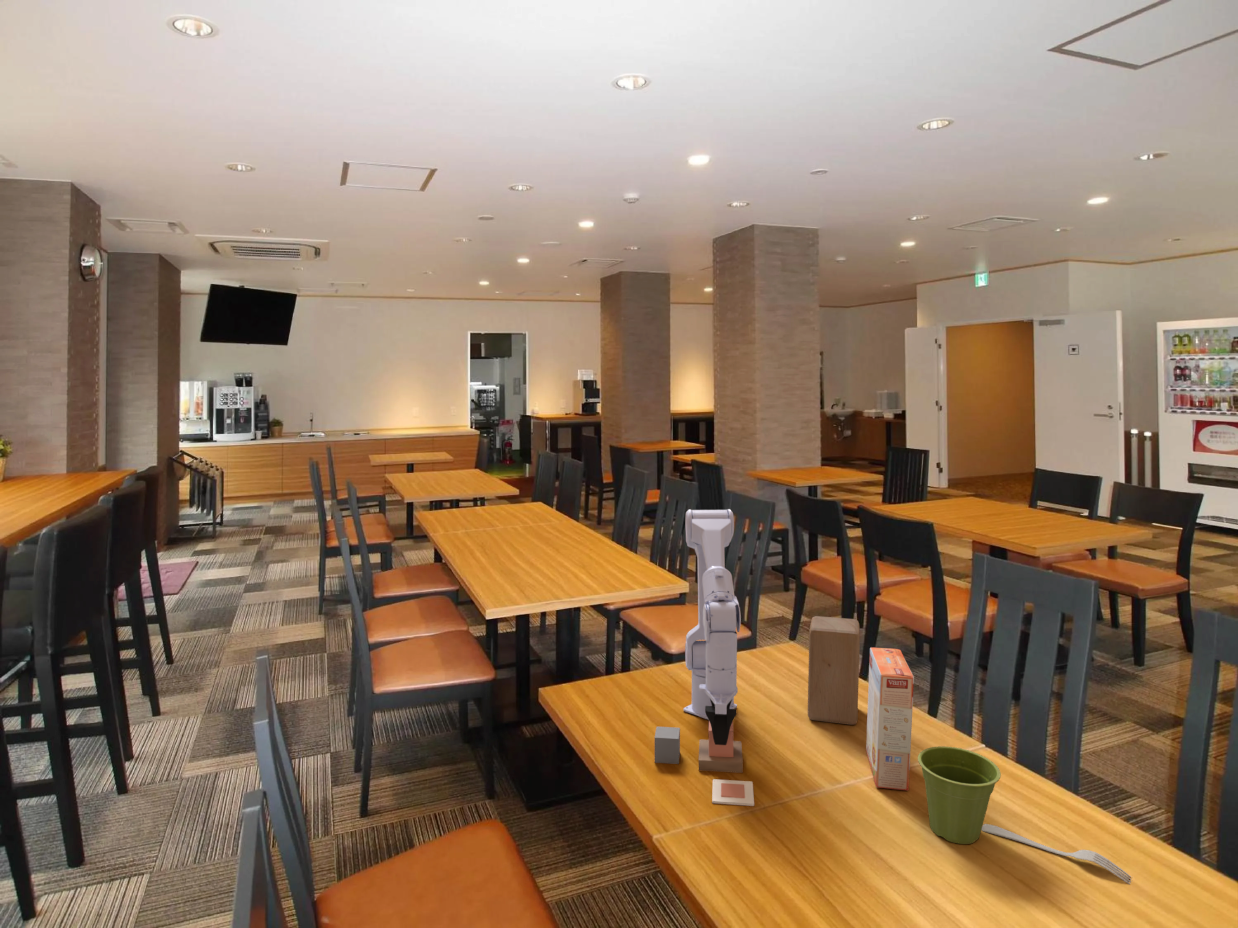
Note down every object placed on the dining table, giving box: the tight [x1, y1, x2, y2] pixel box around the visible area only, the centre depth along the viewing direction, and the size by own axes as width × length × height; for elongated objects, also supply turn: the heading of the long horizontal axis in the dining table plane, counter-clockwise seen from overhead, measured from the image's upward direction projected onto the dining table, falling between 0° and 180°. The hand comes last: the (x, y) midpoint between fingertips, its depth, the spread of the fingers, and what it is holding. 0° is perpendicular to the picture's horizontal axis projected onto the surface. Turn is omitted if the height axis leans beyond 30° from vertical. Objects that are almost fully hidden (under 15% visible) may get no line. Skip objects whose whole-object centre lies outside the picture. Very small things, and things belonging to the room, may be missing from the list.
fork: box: [981, 823, 1132, 885], centre depth 113 cm, size 3×21×3 cm, turn 48°
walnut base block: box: [698, 738, 744, 774], centre depth 141 cm, size 8×8×2 cm
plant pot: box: [917, 745, 1002, 845], centre depth 118 cm, size 12×12×11 cm
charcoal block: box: [654, 726, 681, 765], centre depth 143 cm, size 4×4×5 cm
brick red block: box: [708, 720, 734, 757], centre depth 141 cm, size 4×4×5 cm
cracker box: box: [865, 647, 915, 791], centre depth 136 cm, size 14×6×21 cm, turn 168°
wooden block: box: [807, 615, 861, 726], centre depth 159 cm, size 10×10×20 cm
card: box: [711, 778, 755, 807], centre depth 130 cm, size 7×7×1 cm
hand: (720, 734), depth 141 cm, fingers open, 7 cm apart
